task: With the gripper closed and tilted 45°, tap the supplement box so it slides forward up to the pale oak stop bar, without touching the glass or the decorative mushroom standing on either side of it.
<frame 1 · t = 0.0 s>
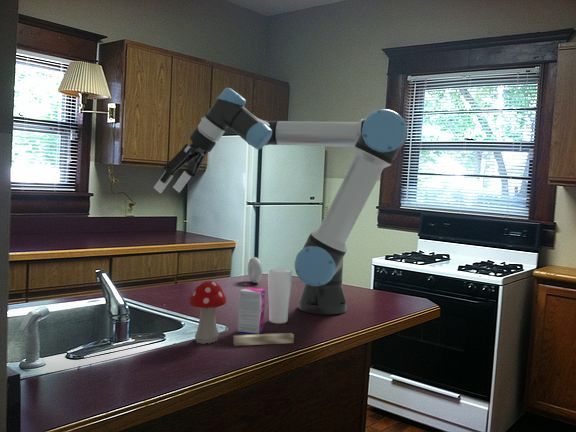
hand: (166, 190, 175), 36 cm above the table, tool tilted 35°, fingers open, 13 cm apart
decorative mushroom: (206, 341, 142), on the table
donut: (254, 283, 220), on the table
supplement box: (250, 332, 152), on the table
stop bar: (263, 343, 142), on the table
drinking glass: (278, 322, 163), on the table
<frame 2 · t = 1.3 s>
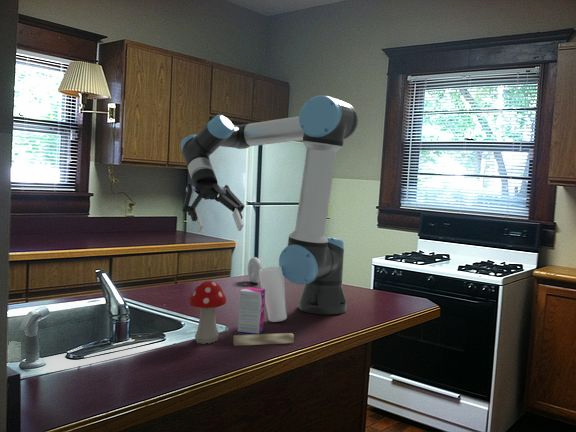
hand: (221, 228, 168), 26 cm above the table, tool tilted 45°, fingers open, 12 cm apart
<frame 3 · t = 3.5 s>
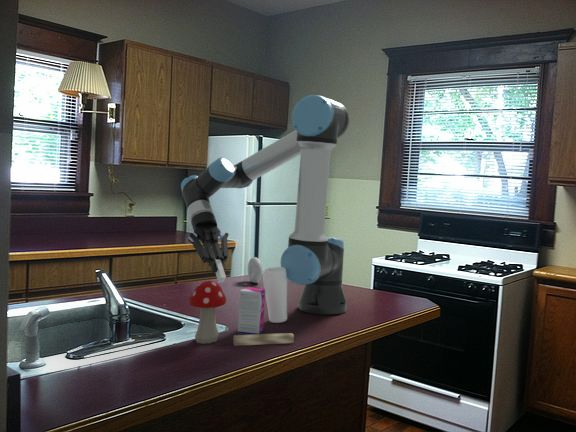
hand: (222, 280, 165), 11 cm above the table, tool tilted 45°, fingers closed
drinking glass: (278, 321, 163), on the table, touching arm
everything else where it was.
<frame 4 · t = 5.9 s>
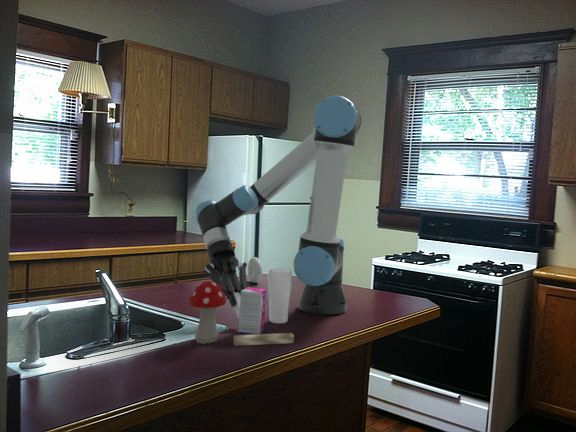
hand: (241, 315, 155), 3 cm above the table, tool tilted 45°, fingers closed
supplement box: (251, 333, 151), on the table, touching gripper
drinking glass: (278, 322, 163), on the table
everything else where it was.
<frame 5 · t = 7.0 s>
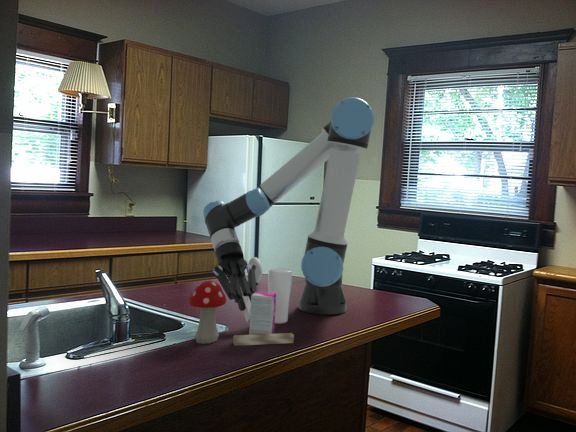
hand: (251, 319, 150), 4 cm above the table, tool tilted 45°, fingers closed
supplement box: (261, 338, 146), on the table, touching gripper, stop bar
everything else where it was.
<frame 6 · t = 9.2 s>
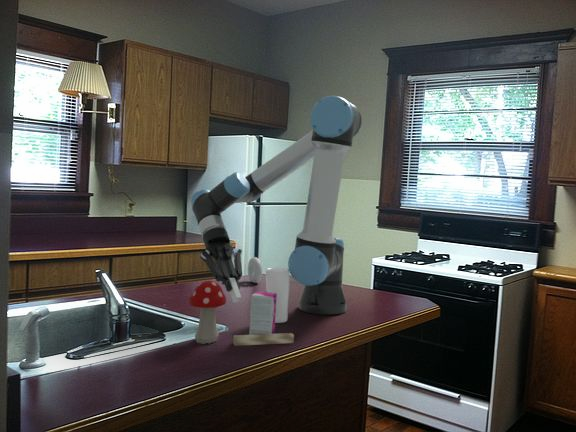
hand: (237, 299, 158), 7 cm above the table, tool tilted 45°, fingers closed
supplement box: (262, 338, 147), on the table
everything else where it was.
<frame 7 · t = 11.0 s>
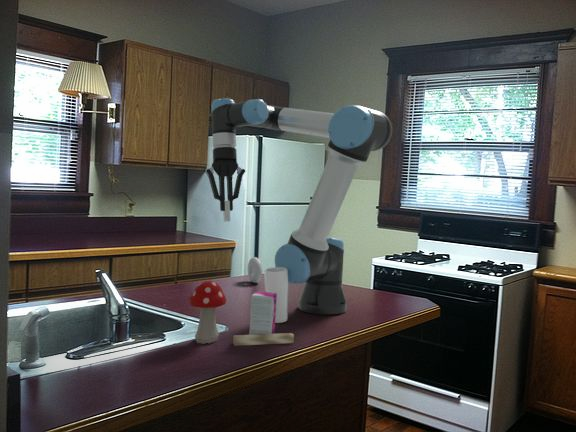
hand: (227, 221, 182), 27 cm above the table, tool pointing down, fingers closed
drinking glass: (278, 321, 163), on the table, touching arm
everything else where it was.
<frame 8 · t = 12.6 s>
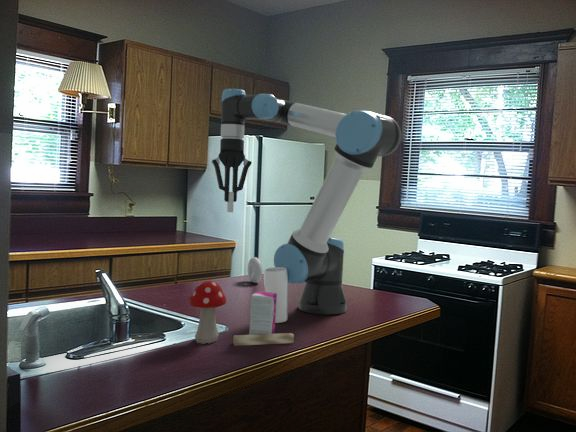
hand: (230, 211, 184), 29 cm above the table, tool pointing down, fingers closed
nothing on the table moved.
at the end: supplement box inside the target area (1.3 cm from its centre), on the table; decorative mushroom moved 0.2 cm from its start; drinking glass moved 0.1 cm from its start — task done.
